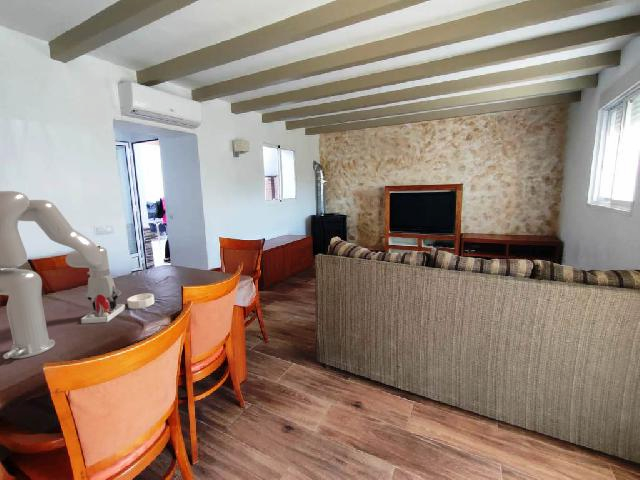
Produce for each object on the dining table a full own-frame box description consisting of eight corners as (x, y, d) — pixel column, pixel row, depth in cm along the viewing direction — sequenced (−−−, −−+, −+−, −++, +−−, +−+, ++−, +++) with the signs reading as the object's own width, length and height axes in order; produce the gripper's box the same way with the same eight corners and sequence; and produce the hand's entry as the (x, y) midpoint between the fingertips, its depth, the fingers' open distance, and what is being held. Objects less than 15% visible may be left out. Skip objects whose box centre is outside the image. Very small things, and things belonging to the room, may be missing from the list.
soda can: (105, 318, 141) (102, 294, 139) (93, 317, 142) (89, 293, 140) (118, 312, 148) (115, 289, 146) (106, 311, 149) (103, 288, 147)
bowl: (148, 308, 153) (147, 300, 152) (123, 309, 152) (122, 302, 151) (157, 299, 165) (157, 292, 164) (135, 301, 163) (134, 294, 163)
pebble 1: (93, 321, 138) (92, 315, 137) (86, 322, 137) (85, 315, 137) (97, 318, 141) (96, 312, 140) (90, 319, 140) (89, 313, 140)
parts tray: (107, 322, 137) (106, 317, 137) (81, 324, 136) (80, 318, 135) (125, 308, 153) (125, 304, 152) (102, 310, 151) (101, 305, 151)
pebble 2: (107, 320, 139) (106, 313, 138) (100, 320, 138) (99, 314, 138) (111, 317, 142) (110, 311, 141) (104, 317, 141) (103, 311, 141)
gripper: (74, 276, 137) (80, 313, 140) (115, 274, 139) (120, 310, 142) (85, 272, 144) (90, 306, 147) (123, 270, 146) (128, 304, 149)
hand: (105, 308), depth 145 cm, fingers closed on soda can, 7 cm apart
